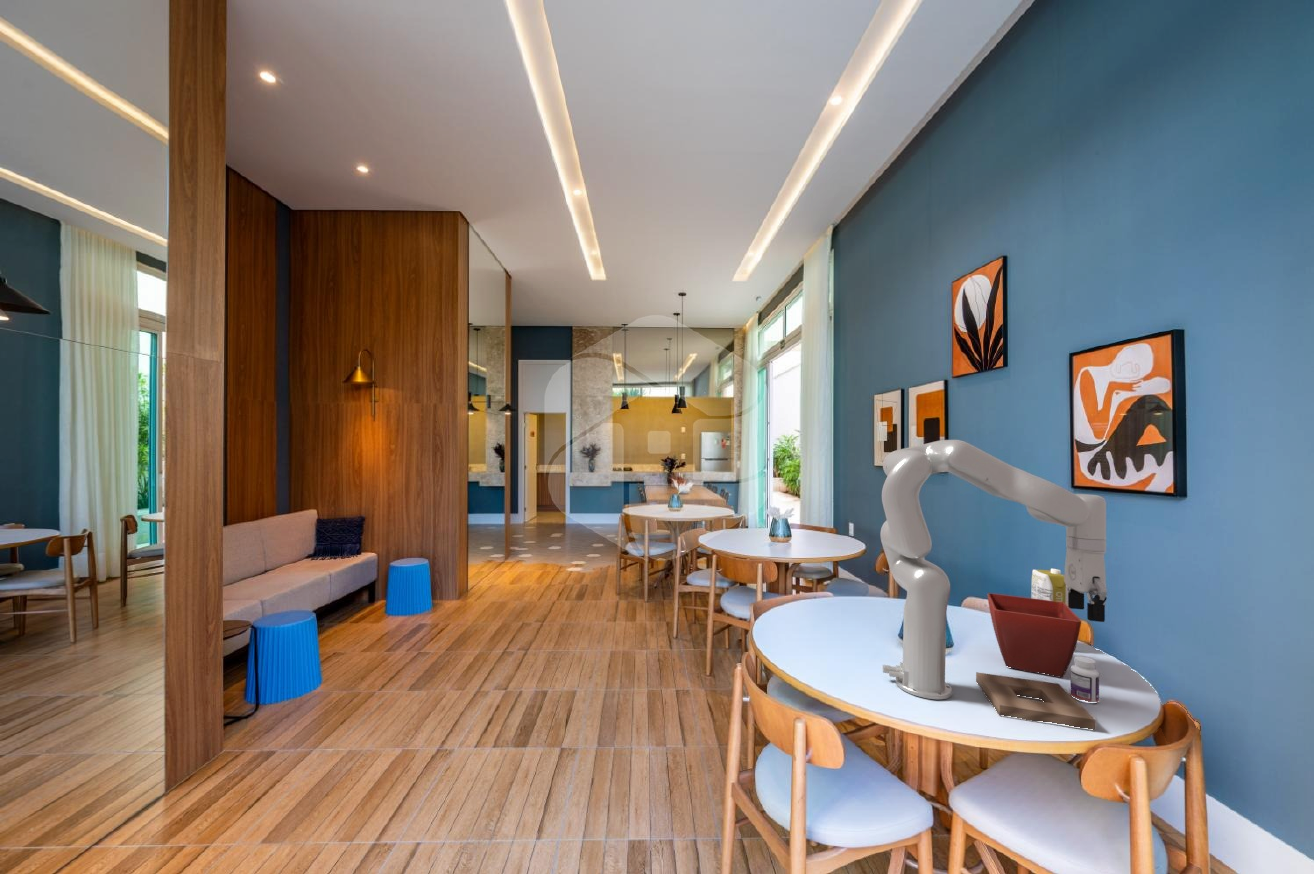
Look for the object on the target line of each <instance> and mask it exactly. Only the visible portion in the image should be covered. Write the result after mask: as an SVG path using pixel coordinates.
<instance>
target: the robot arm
mask: <svg viewBox="0 0 1314 874" xmlns="http://www.w3.org/2000/svg"><path fill="white" fill-rule="evenodd" d="M882 469H883V472H884V473H885V475H886V476H887V477H886V479H885V481H884V482H883V486H882V490H881V503H882V506H883V511H884V515H885V519H886V520H885V521H884V522H883V524H882V526H881V529H880V535H879V536H880V541H881V544H882V550H883V551H884V554H885V557H886V560H887V563H888V567H889V570H890V572H891V575H892V577H893V580H895V582H896V583H897V585H898V586H900V587H901V588H902V589H903V590H905V591H906V598H905V601H904V602H905V603H904V607H903V616H902V617H903V619H902V620H903V627H902V628H903V629H902V631H903V634H902V635H903V636H902V637H903V640H902V662H899V665H895V666H891V665H888V664H882V672H883V674H884V673H885V674H888V676H889V677H890V678H891V677H892V678H895V684H896V685H897V687H898V688H900V689H901V690H903V691H904V692H906V693H908V694H910V695H913V696H916V697H919V698H923V699H927V700H928V699H929V700H946V699H949V698H951V697H952V695H953V689H952V686H951V685H949V684H948V682H946V652H947V651H946V650H947V647H946V646H947V641H946V640H947V629H946V628H947V627H946V626H947V611H948V605H949V604H948V603H949V599H950V595H951V582H950V579H949V577H948V575H947V573H946V572H945V571H944V570H943V569H942V568H941V567H939V565H936V564H934V563H932V562H930V561H929V560H927V559H925V557H926V556H928V554H929V553H930V552H931V550H932V544H933V542H932V536H931V534H930V531H929V529H928V525H927V523H926V519H925V516H924V514H923V511H922V507H921V503H920V492H921V488H922V486H923V485H924V483H925V482H926V481H927V480H928V479H929V477H930V476H931V475H935V474H939V473H943V472H944V473H950V474H952V475H954V476H956V477H958V478H959V479H961V480H964V481H966V482H968V483H970V484H971V485H973V486H975V487H977V488H978V489H980V490H982V491H984V492H986V493H987V494H990V495H991V496H993V497H997V498H999V499H1003V500H1007V501H1011V502H1015V503H1018V504H1021V505H1023V506H1025V508H1026V510H1027V512H1028V514H1029V515H1030V516H1031V517H1033V518H1034V519H1035V520H1038V521H1040V522H1045V523H1049V524H1055V525H1059V526H1062V527H1063V526H1064V527H1065V529H1066V530H1065V531H1066V532H1065V533H1066V534H1065V535H1066V536H1065V540H1066V541H1065V542H1066V543H1065V544H1066V545H1065V546H1066V547H1065V548H1066V553H1065V559H1064V560H1065V563H1064V574H1063V575H1064V582H1065V584H1066V585H1067V586H1068V607H1069V608H1070V609H1071V610H1072V609H1074V610H1085V593H1086V596H1087V598H1088V602H1087V603H1086V604H1087V607H1086V611H1087V613H1086V615H1087V617H1086V619H1087V620H1088V621H1089V622H1098V623H1100V622H1101V623H1104V622H1105V621H1106V615H1105V614H1106V610H1105V609H1106V605H1107V602H1106V601H1107V599H1108V598H1107V595H1108V589H1107V579H1106V577H1107V575H1106V563H1105V557H1104V556H1105V555H1104V554H1106V553H1107V501H1106V499H1105V498H1104V497H1103V496H1100V495H1097V494H1086V493H1073V492H1071V491H1070V490H1068V489H1066V488H1063V487H1062V486H1060V485H1058V484H1057V483H1054V482H1051V481H1049V480H1047V479H1044V478H1042V477H1040V476H1037V475H1035V474H1032V473H1030V472H1027V471H1025V470H1023V469H1021V468H1018V467H1015V466H1013V465H1011V464H1009V463H1007V462H1005V461H1004V460H1001V459H999V458H997V457H996V456H993V455H991V454H989V453H988V452H986V451H984V450H982V449H980V448H978V447H977V446H975V445H973V444H971V443H969V442H967V441H964V440H960V439H943V440H942V439H941V440H936V441H932V442H928V443H924V444H919V445H916V446H915V445H914V446H910V447H905V448H901V449H896V450H894V451H891V452H890V453H888V454H887V455H886V456H885V458H884V459H883V462H882Z"/></svg>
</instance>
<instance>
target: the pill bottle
mask: <svg viewBox="0 0 1314 874" xmlns="http://www.w3.org/2000/svg"><path fill="white" fill-rule="evenodd" d="M1073 663H1074V664H1073V665H1071V667H1070V695H1072V696H1073V697H1075V698H1077V699H1079V700H1085V701H1088V702H1098V701H1099V702H1100V673H1099V671H1098V670H1097V669H1095V668H1096V661H1095V660H1094V659H1092V658H1090V657H1086V656H1081V655H1079V656H1074V661H1073Z"/></svg>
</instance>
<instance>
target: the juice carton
mask: <svg viewBox="0 0 1314 874" xmlns="http://www.w3.org/2000/svg"><path fill="white" fill-rule="evenodd" d="M1061 572H1062V570H1060V569H1056V568H1050V569H1049V570H1048V569H1047V570H1046V569H1032V573H1031V585H1030V587H1031V591H1030V592H1031V593H1030V598H1033V599H1041V600H1049V601H1056V602H1062V603H1065V604H1066V605H1067V606H1068V586H1067V585H1066V584H1065V582H1064V575H1065V574H1061Z"/></svg>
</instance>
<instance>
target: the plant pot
mask: <svg viewBox="0 0 1314 874" xmlns="http://www.w3.org/2000/svg"><path fill="white" fill-rule="evenodd" d="M987 601H988V608H989V613H990V618H991V623H992V626H993V630H994V635H995V638H996V641H997V645H998V648H999V651H1000V654H1001V656H1002V659H1003V662H1004V665H1005V666H1008V667H1011V668H1016V669H1020V670H1019V671H1022V670H1025V671H1024V672H1027V671H1031V672H1030V673H1033V672H1039V673H1045V674H1049V675H1048V676H1050V675H1054V676H1053V677H1055V676H1060V677H1059V678H1063V677H1064V676H1065V674H1066V673H1067V671H1068V668H1069V667H1070V664H1071V661H1072V659H1073V656H1074V654H1075V650H1076V647H1077V644H1078V641H1079V636H1080V631H1081V626H1082V620H1081V619H1080V618H1079V617H1078V615H1077V614H1075V612H1073V611H1072V609H1071V608H1069V607H1068V606H1067V605H1066V604H1065V603H1062V602H1056V601H1049V600H1041V599H1033V598H1031V597H1025V596H1016V595H1015V596H1014V595H1007V594H999V593H991V592H989V593H987ZM1008 667H1007V668H1008ZM1011 668H1010V669H1011ZM1016 669H1015V670H1016ZM1039 673H1038V674H1039Z"/></svg>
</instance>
